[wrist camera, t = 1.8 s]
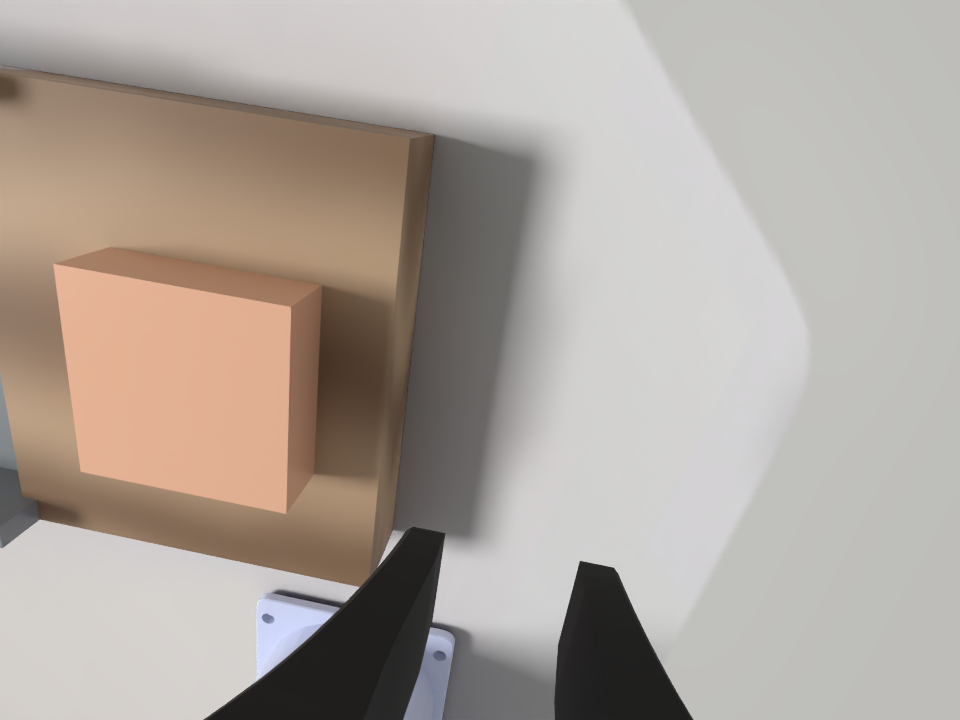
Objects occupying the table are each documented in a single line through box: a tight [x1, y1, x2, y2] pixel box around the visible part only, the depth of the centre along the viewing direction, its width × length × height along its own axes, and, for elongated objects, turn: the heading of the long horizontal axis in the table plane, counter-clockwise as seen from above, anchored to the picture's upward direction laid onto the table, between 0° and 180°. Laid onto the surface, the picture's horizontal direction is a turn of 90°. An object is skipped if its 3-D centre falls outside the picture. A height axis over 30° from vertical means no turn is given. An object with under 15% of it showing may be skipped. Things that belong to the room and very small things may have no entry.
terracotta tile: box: [53, 247, 322, 514], centre depth 17 cm, size 6×6×2 cm
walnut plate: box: [0, 68, 435, 587], centre depth 19 cm, size 14×12×3 cm
